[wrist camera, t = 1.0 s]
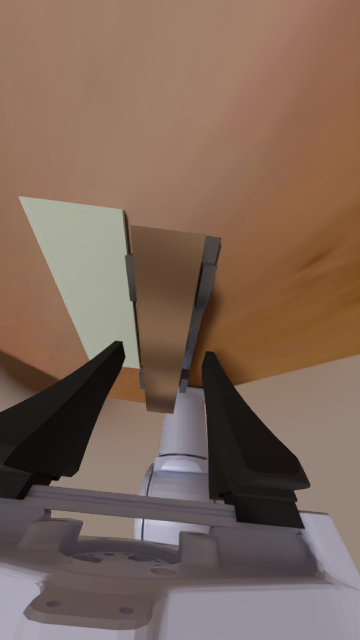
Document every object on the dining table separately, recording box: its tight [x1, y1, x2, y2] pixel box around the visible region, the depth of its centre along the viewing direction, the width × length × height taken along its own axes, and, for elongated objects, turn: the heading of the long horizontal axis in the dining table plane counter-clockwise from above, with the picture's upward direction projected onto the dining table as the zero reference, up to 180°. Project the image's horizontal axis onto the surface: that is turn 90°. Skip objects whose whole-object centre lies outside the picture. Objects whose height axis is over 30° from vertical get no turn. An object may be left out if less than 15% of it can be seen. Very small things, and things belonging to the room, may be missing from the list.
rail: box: [130, 225, 206, 414], centre depth 12 cm, size 18×3×3 cm, turn 174°
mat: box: [18, 196, 140, 369], centre depth 16 cm, size 20×8×1 cm, turn 174°
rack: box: [125, 236, 221, 393], centre depth 14 cm, size 18×7×5 cm, turn 174°
